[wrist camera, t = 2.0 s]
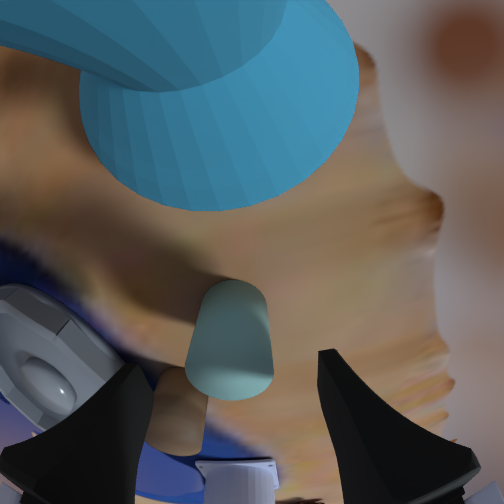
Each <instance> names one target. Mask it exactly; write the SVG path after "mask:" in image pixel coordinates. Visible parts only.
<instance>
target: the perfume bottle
mask: <svg viewBox="0 0 504 504" xmlns="http://www.w3.org/2000/svg"><path fill="white" fill-rule="evenodd" d="M0 45H1V46H5V47H9V48H13V49H17V50H20V51H24V52H27V53H31V54H34V55H38V56H41V57H44V58H47V59H50V60H53V61H57V62H59V63H62V64H65V65H68V66H71V67H74V68H77V69H79V70H81V74H80V82H79V102H80V111H81V120H82V123H83V126H84V129H85V132H86V135H87V138H88V141H89V143H90V145H91V147H92V148H93V150H94V152H95V153H96V155H97V157H98V158H99V160H100V162H101V163H102V164H103V165H104V166H105V167H106V168H107V169H108V170H109V171H110V173H111V174H112V175H113V176H114V177H115V178H116V179H117V180H118V181H120V182H121V183H122V184H124V185H125V186H127V187H128V188H130V189H131V190H133V191H134V192H136V193H137V194H139V195H141V196H143V197H145V198H148V199H150V200H153V201H155V202H158V203H160V204H162V205H165V206H171V207H176V208H181V209H186V210H190V211H224V210H230V209H235V208H241V207H247V206H251V205H254V204H257V203H260V202H262V201H265V200H268V199H271V198H273V197H276V196H279V195H280V194H282V193H284V192H285V191H287V190H289V189H290V188H292V187H294V186H296V185H297V184H299V183H301V182H302V181H304V180H305V179H306V178H307V177H308V176H310V175H311V174H312V173H313V172H314V171H315V170H316V169H318V168H319V167H320V166H321V165H322V164H323V163H324V162H325V161H326V160H327V159H328V157H329V156H330V155H331V154H332V152H333V151H334V150H335V148H336V147H337V146H338V144H339V143H340V142H341V140H342V139H343V137H344V134H345V132H346V130H347V128H348V126H349V124H350V122H351V120H352V117H353V115H354V110H355V106H356V101H357V97H358V92H359V69H358V62H357V58H356V54H355V50H354V46H353V42H352V40H351V38H350V36H349V34H348V32H347V30H346V28H345V26H344V24H343V22H342V21H341V19H340V18H339V17H338V16H337V14H336V13H335V12H334V11H333V9H332V8H331V7H330V6H329V4H328V3H327V2H326V1H325V0H0Z"/></svg>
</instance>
